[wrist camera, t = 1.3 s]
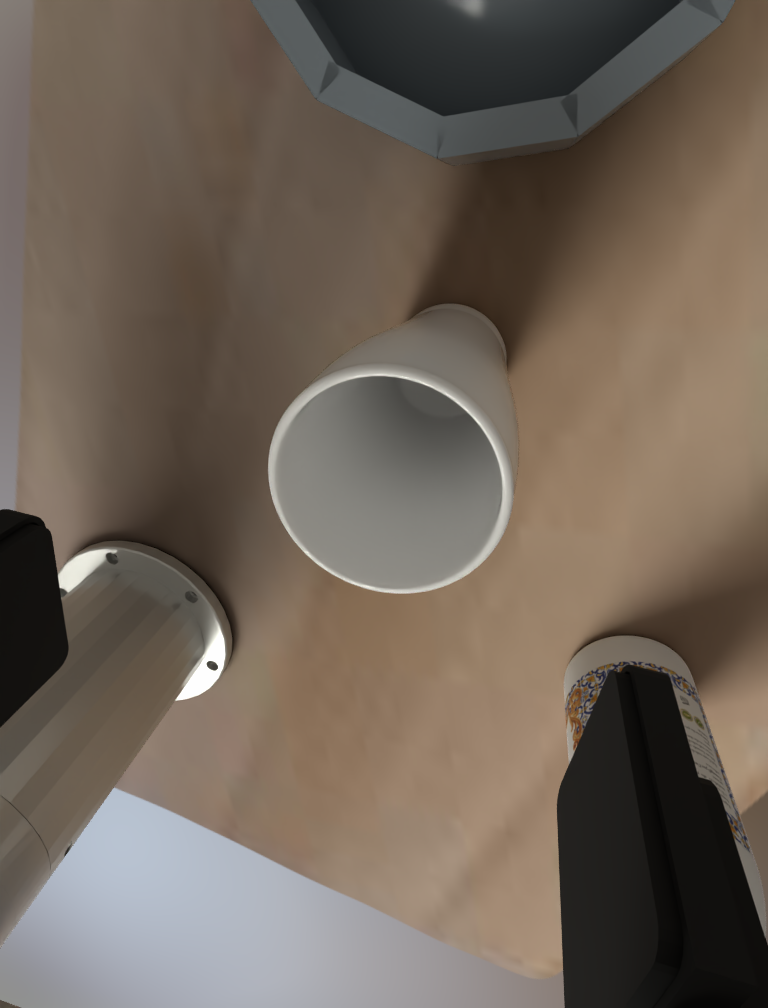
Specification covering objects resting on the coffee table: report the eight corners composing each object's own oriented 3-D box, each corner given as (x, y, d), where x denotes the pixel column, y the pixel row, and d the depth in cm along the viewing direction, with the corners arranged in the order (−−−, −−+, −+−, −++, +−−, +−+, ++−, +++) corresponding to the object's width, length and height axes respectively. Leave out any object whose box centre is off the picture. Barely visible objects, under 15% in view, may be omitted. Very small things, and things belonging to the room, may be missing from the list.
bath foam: (551, 638, 35) (574, 1083, 17) (681, 622, 32) (860, 1114, 15) (575, 727, 37) (617, 1193, 20) (698, 718, 35) (866, 1234, 17)
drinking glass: (387, 276, 28) (261, 343, 15) (536, 294, 27) (543, 383, 14) (376, 415, 31) (263, 573, 18) (508, 436, 30) (492, 619, 17)
